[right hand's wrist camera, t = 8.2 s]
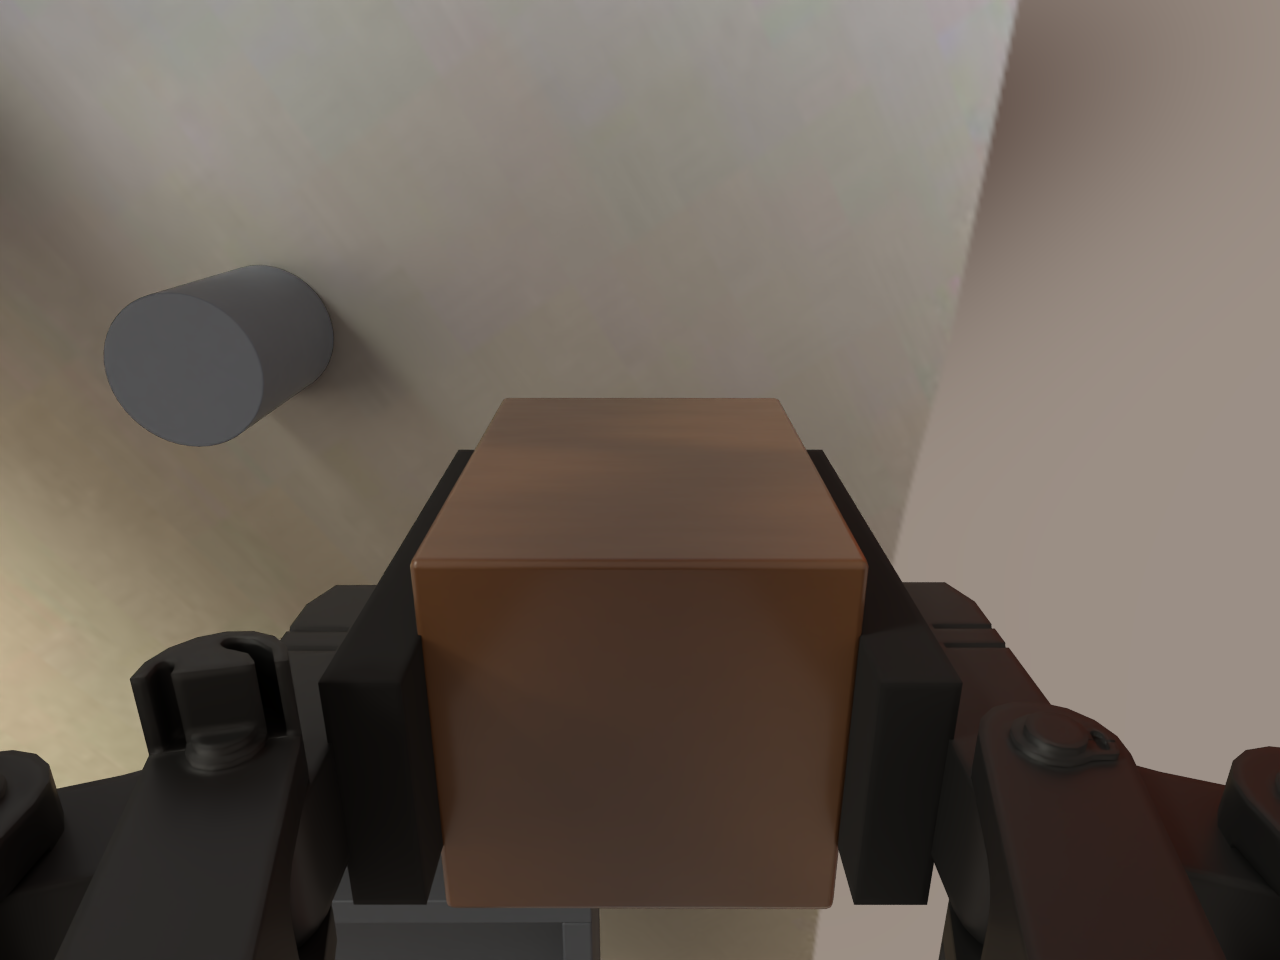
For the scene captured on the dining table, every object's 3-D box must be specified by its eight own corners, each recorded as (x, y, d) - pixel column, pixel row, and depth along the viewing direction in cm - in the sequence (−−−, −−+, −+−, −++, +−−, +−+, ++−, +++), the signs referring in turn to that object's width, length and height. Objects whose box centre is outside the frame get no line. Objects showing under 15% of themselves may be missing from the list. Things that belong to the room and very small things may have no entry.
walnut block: (517, 636, 15) (444, 911, 10) (502, 396, 14) (406, 561, 8) (764, 637, 15) (834, 912, 10) (779, 396, 14) (871, 561, 8)
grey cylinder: (216, 393, 31) (122, 447, 25) (192, 264, 29) (85, 292, 23) (341, 392, 31) (275, 447, 25) (324, 264, 29) (249, 292, 23)
